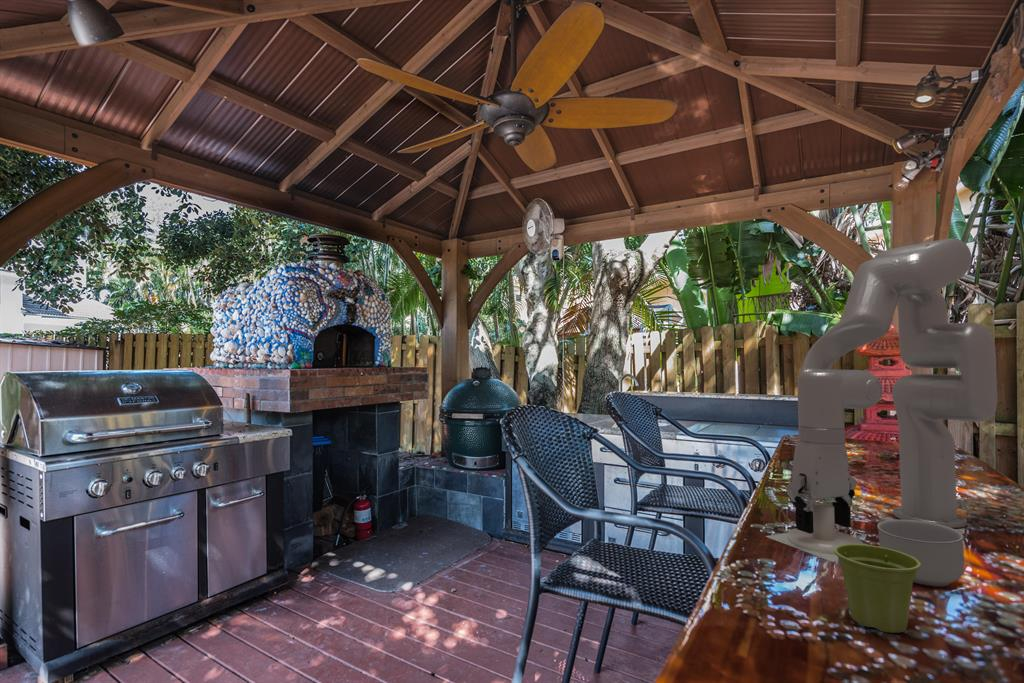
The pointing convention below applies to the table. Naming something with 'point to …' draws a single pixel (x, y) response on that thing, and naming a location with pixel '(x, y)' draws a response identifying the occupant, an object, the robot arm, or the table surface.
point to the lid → (821, 532)
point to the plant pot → (878, 585)
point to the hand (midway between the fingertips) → (823, 528)
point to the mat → (784, 539)
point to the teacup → (926, 548)
